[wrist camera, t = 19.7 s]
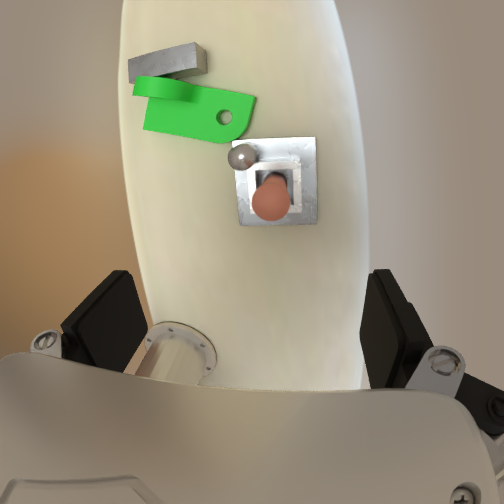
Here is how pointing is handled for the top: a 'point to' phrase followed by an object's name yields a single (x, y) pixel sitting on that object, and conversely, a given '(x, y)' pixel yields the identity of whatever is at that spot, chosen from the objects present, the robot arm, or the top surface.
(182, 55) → the block
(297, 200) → the metal square socket base
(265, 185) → the peach peg
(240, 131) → the mechanical part
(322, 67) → the top surface
